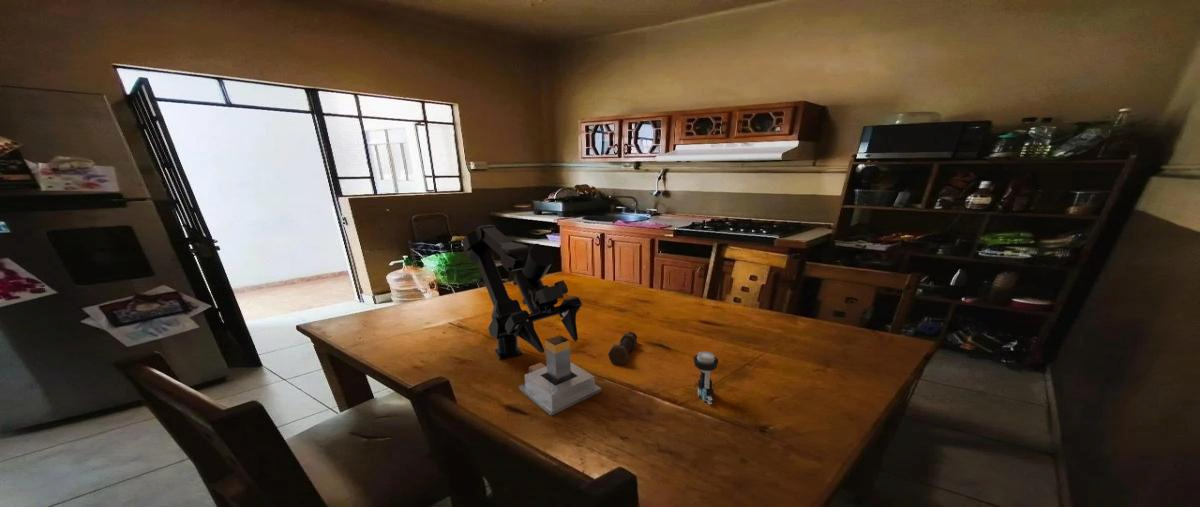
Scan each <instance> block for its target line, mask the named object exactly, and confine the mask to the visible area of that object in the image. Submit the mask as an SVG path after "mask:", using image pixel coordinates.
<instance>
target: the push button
mask: <svg viewBox="0 0 1200 507" xmlns="http://www.w3.org/2000/svg"><path fill="white" fill-rule="evenodd" d="M692 359H693V362H694V367H696V368H697V369H698V370H699V371H700V374H699V379H697V380H698V381H697V396H698V397H701V399H702V401H703V402H707V404H708V405H713V403H712V401H713V398H714V389H713V381H712V379H711V377H710V376H711V372H712V371H714V370H716V369H717V368H718V364H719V359H718V358H717V357H716V356H715V355H714V353H712V352H710V351H699V352H698V353H697V354H695V355H694V356H693V358H692Z"/></svg>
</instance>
